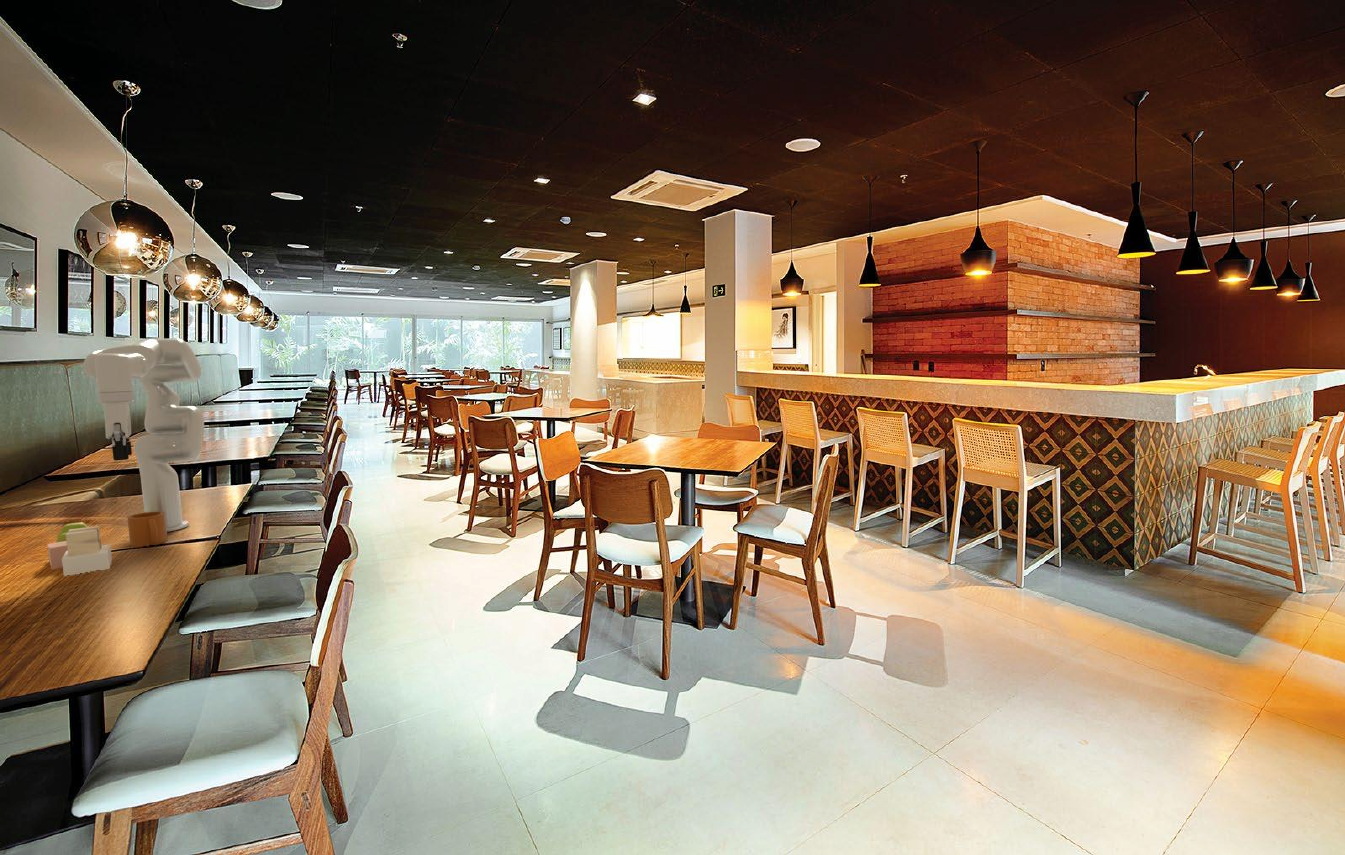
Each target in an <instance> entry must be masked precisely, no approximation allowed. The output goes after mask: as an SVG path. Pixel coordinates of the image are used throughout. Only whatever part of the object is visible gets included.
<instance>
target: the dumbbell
mask: <svg viewBox="0 0 1345 855" xmlns="http://www.w3.org/2000/svg"><path fill="white" fill-rule="evenodd" d="M86 527H89V526H88V524H86V523H85V522H71V523H67V524H65V525H63V527H62V528H61V529H60V530H59V533H58V535H57V537H56V538H57V539H56V541H55V542H54V543H57V542H63V541H66V534H67V532H68V531H69V530H70V529H78V528H86Z"/></svg>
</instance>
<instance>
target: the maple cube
mask: <svg viewBox="0 0 1345 855" xmlns="http://www.w3.org/2000/svg"><path fill="white" fill-rule="evenodd" d="M100 530H101V529H100V526H99V525H96V526H88V527H86V528H78V529H70V530H69V531H68V532H67V534H66V541H67V549H68V557H70V556H77V555H83V554H90V553H97V552H99V551H100V549H101V546H102V539H101V534H100Z"/></svg>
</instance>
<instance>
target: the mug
mask: <svg viewBox="0 0 1345 855" xmlns="http://www.w3.org/2000/svg"><path fill="white" fill-rule="evenodd" d="M126 520H127V526H128V528H127V529H128V536H129V543H130V545H129V546H130V547H131V548H144V547H143V546H146V547H150V546H149V545H155V546H157V545H161V544H164V543H165V541H166V542H168V532H167V531H166V522H165V512H161V511H156V512H145V511H144V512H140V513H135V514H131V515H129V516H127V519H126ZM163 542H164V543H163ZM156 544H157V545H156Z"/></svg>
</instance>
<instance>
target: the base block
mask: <svg viewBox="0 0 1345 855" xmlns="http://www.w3.org/2000/svg"><path fill="white" fill-rule="evenodd" d="M112 558H113V557H112V549H111V544H105V545H103V544H102V545H101V549H100V551H99V552H97V553H90V554H83V555H77V556H70V557H68V551H66V552H65V554H64V556H63V558H62V565H63V568H62V571H63V572H62V573H63V577H68V576H67V575H70V576H75V574H76V575H80V573H82V574H86V573H85V572H88V573H91V572H90V571H94V572H96V571H95V570H101V571H104V570H105V571H106V569H107V570H110V569H111V566H112V563H111V561H112V562H113V559H112ZM110 565H111V566H110Z"/></svg>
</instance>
